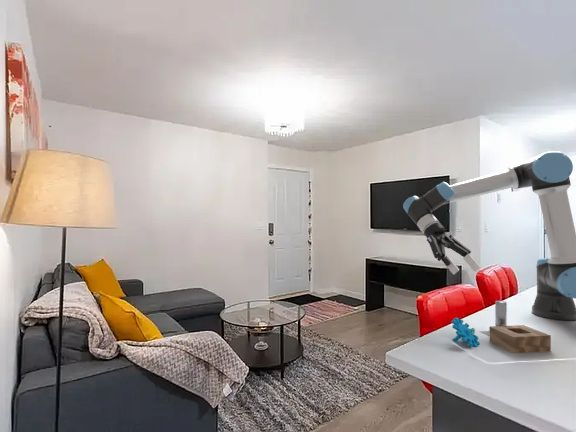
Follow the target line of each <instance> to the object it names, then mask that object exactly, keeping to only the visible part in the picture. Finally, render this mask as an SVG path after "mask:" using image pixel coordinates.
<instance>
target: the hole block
mask: <svg viewBox="0 0 576 432" xmlns="http://www.w3.org/2000/svg"><path fill="white" fill-rule="evenodd" d="M489 331H490V337H489V342H490V343H492V344H494V345H496V346H498V347H500V348H502V349H504V350H506V351H508V352H510V353H513V354H525V353H542V352H546V353H547V352H551V351H552V347H551V346H552V344H551V341H552V340H551V339H552V337H551V336H552V335H550V334H548V333H546V332H543V331H540V330H537V329H534V328H532V327H529V326H527V325H525V324H517V325H516V324H515V325H507V326H490V325H489Z"/></svg>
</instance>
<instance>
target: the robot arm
mask: <svg viewBox="0 0 576 432" xmlns="http://www.w3.org/2000/svg"><path fill="white" fill-rule="evenodd" d="M573 169H574V165H573V162H572V160H571V158H570V157H569V156H568V155H566V154H565V153H562V152H561V151H555V150H554V151H547V152H543V153H539V154H537V155H536V156H534V157H532V158H528V159H527V160H526V161H523V162H521V163H518V164H515V165H512V166H509V167H508V168H507V170H503V171H499V172H496V173H491V174H487V175H484V176H480V177H476V178H474V179H473V178H472V179H468V180H464V181H461V182H457V183H454V184H450V185H449V183H447V182H445V181H441V183H439V184H437V185H435V187H433V188H432V189H430V190H429V191H427V192H426V193H425V194H423V195H422V196H420V197H419V196H417V195H413V196H409V197H408V198H407V199H406V200H405V201H404V202H403V204H402V207H403V208H402V209H403V210H404V211H405V213H406V214H407V215H408V217H409V218H410V219H411V220H412V221H413V222H414V223H415V225H416V226H417V227H418V229H419V230H420V231H421V233H423V235H424V236H425V237H426V238H427V239H426V241H427V242H428V244H429V247H430V249H431V252H432V255H433V257H434V259H437V261H438V262H443V264H444V265H445V266H446V267H447V268H448V271H449V272H450V273H452V275H456V274H457V273H458V272H459V271H460V268H459V267H458V265H456V264H455V263H454V261H453V259H451V257H450V256H449V255H446V249H451V250H452V251H453V252H455V253H457V254H459V255H460V256H462V259H463V260H464V261H465V262H466V264H467V265H468V266H469V267H470V269H472V270H473V272H474V273H475V272H477V271H478V270H479V269H481V268H482V267H481V265H480V264H479V263H478V262H477V261H476V259H474V258H473V257H472V255H471V253H472V251H471V249H469V248H468V247H466V245H464V244H463V243H461V242H460V241H459V240H458V239H457V238H455V236H453V234H449V236H448V235H447V234H446V228H445V227H444V225H442V223H440V221H439V219H437V218H436V216H435V215H434V214H433V213H432V212H434V211H435V210H437V209H439V208H440V207H442V206H443V205H447V204H450V203H455V202H459V201H463V200H468V199H472V198H475V197H479V196H483V195H488V194H492V193H495V192H499V191H500V192H501V191H503V190H509V189H511V188H512V189H514V190H518V189H523V188H529V187H531V189H532V192H533V193H534V194H536V195H537V196H538V199H539V205H540V209H541V213H542V218H543V222H544V227H545V232H546V237H547V243H548V247H549V251H550V258H539V259H537V261H536V265H535V267H536V296H535V298H534V303H533V305H531V313H532V314H534V315H536V316H539V317H542V318H547V319H553V320H561V321H576V303H575V301H574V299H576V228H575V225H574V219H573V215H572V208H571V205H570V199H569V195H568V190H569V188H570V187H571V186H572V185H571V180H570V179H571V178H570V176H571V174H572V173H573ZM445 248H446V249H445Z"/></svg>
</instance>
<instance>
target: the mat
mask: <svg viewBox="0 0 576 432" xmlns="http://www.w3.org/2000/svg"><path fill="white" fill-rule="evenodd" d="M479 333H481V334H484V335H485V336H488V338H490V330H483V331H482V330H481V331H479Z"/></svg>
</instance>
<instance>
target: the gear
mask: <svg viewBox="0 0 576 432" xmlns="http://www.w3.org/2000/svg"><path fill="white" fill-rule="evenodd" d="M451 324H452V328H453V329H454V330H455V334H456V336H454V338H452V341H454V342H457V341H459V340H460V339H461V341H462V342H463V343H466V342H467V346H469V348H470V347H471V348H472V347H476V348H478V347H479V345H480V344H481V342H480V341H478V340H479V336H478V335H476V334H475V333H476V329H475V328H474V327H472V328H469V327H470V325H469V324H468V323H467V322H465V323H464V320H463V319H462V318H458V317H455V318H453V320H451Z"/></svg>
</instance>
